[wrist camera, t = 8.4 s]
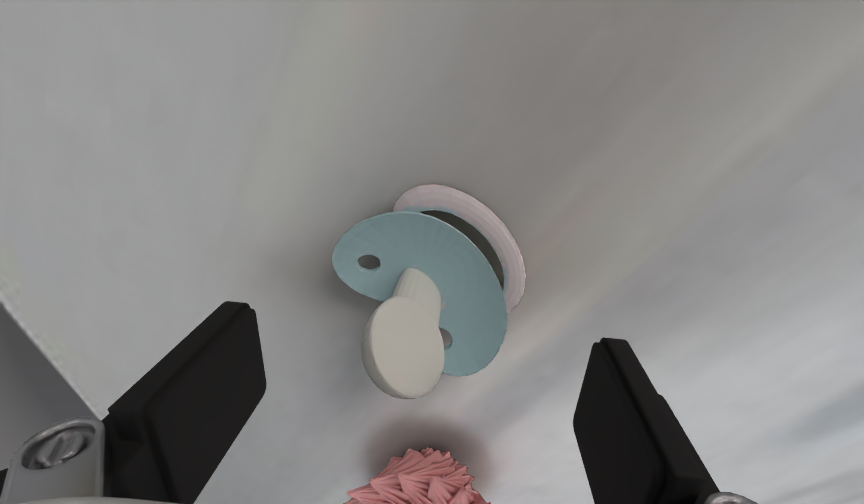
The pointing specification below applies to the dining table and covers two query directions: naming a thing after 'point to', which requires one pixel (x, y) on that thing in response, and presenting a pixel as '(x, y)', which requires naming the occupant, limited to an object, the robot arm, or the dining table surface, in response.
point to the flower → (419, 481)
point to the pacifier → (430, 289)
